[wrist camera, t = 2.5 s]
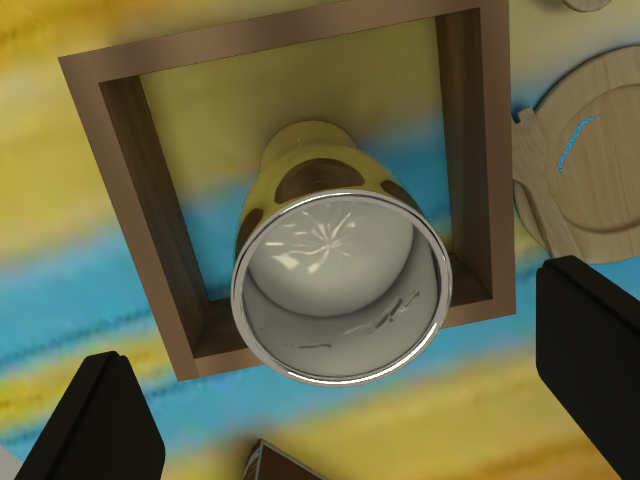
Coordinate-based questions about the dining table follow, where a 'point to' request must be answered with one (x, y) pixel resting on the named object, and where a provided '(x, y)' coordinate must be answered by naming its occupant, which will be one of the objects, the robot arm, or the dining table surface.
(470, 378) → the dining table surface
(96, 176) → the dining table surface
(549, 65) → the dining table surface
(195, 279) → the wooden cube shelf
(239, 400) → the dining table surface
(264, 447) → the food container
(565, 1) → the tableware set
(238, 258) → the beer glass
